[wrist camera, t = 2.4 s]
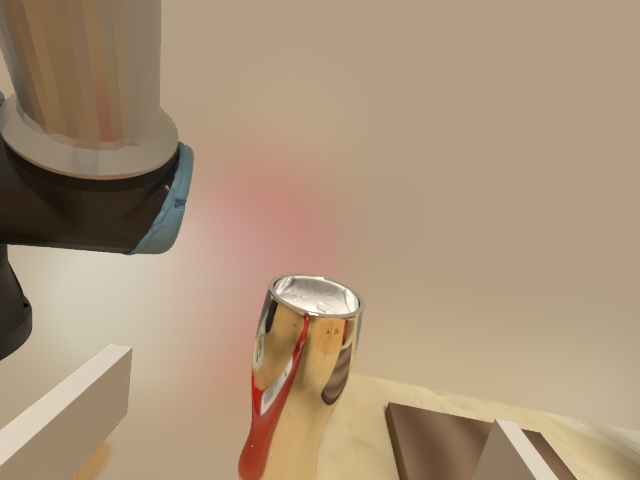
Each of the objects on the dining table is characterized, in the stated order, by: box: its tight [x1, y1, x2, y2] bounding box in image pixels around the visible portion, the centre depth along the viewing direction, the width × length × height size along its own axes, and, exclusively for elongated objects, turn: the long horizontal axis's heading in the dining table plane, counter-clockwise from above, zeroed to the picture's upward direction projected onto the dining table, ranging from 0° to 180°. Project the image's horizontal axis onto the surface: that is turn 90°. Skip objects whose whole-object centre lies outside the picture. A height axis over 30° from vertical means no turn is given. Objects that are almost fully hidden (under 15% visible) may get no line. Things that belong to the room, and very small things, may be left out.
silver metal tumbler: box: [238, 273, 365, 480], centre depth 23 cm, size 7×7×15 cm
